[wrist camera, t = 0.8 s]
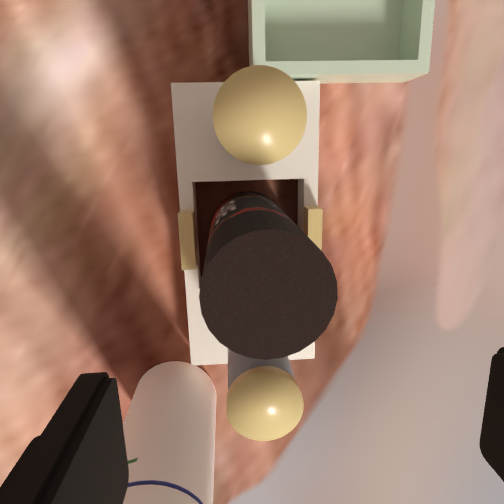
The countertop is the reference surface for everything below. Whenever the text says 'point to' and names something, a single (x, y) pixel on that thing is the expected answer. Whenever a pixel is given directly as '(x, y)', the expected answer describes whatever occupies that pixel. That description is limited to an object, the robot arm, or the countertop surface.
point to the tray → (342, 39)
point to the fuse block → (235, 169)
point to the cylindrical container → (171, 436)
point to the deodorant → (264, 280)
